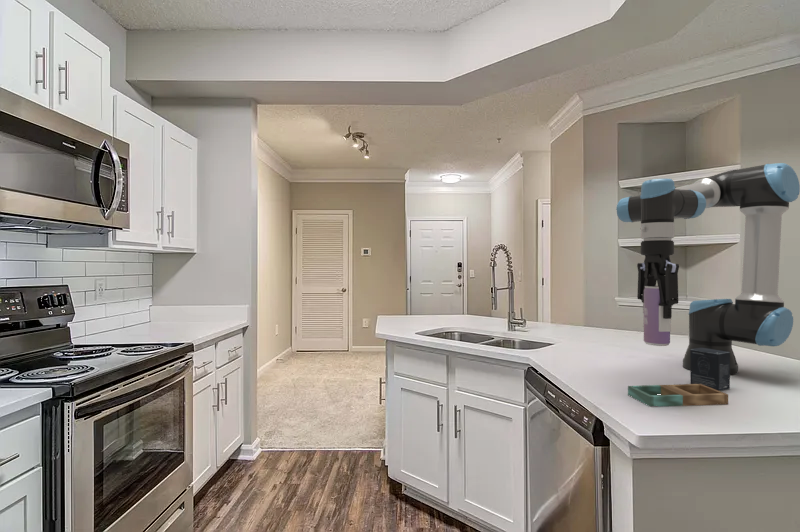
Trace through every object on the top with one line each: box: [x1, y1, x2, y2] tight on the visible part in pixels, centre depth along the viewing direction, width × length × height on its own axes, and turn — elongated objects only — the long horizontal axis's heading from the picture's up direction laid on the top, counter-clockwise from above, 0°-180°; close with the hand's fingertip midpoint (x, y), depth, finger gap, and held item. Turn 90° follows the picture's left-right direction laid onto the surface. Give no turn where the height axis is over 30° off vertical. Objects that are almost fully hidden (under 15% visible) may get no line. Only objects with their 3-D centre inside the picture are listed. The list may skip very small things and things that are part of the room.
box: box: [689, 348, 731, 392], centre depth 130 cm, size 8×6×11 cm
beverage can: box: [643, 285, 671, 347], centre depth 118 cm, size 6×6×15 cm
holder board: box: [627, 383, 729, 407], centre depth 119 cm, size 21×10×2 cm, turn 94°
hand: (656, 329), depth 119 cm, fingers closed on beverage can, 6 cm apart
